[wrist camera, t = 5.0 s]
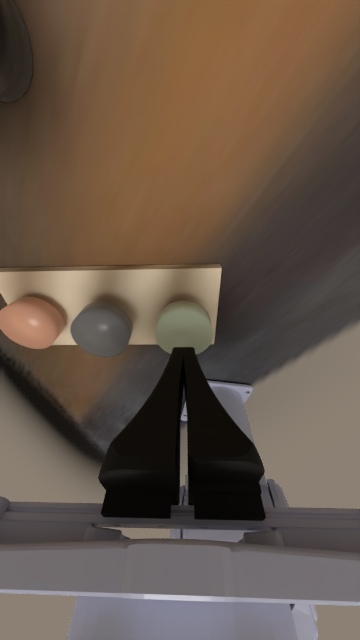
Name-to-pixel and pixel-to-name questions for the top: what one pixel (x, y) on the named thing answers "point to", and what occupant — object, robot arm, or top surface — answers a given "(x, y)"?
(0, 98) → the beverage cup
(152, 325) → the button board
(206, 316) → the sage button
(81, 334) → the charcoal button
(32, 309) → the terracotta button
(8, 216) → the top surface
